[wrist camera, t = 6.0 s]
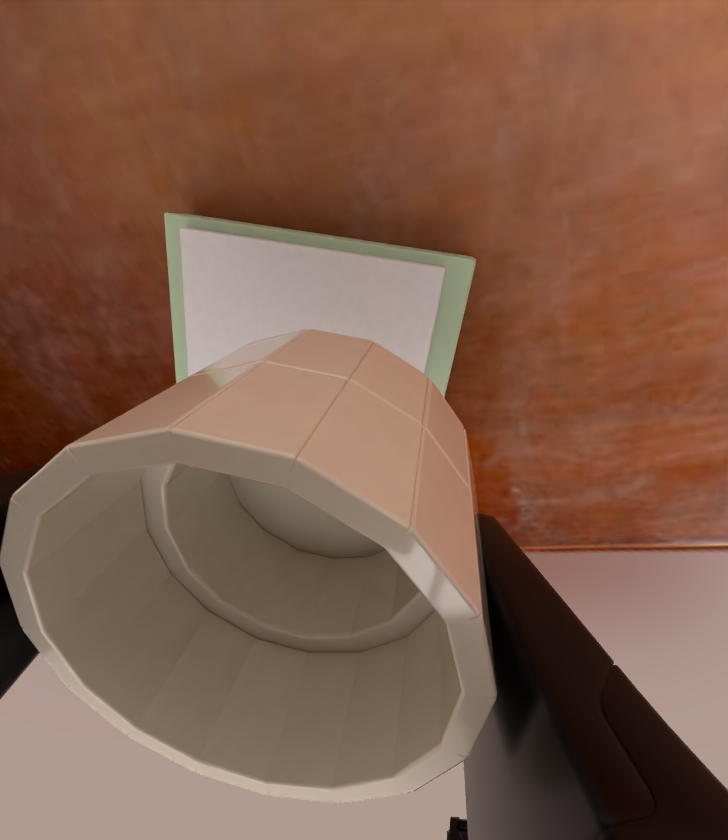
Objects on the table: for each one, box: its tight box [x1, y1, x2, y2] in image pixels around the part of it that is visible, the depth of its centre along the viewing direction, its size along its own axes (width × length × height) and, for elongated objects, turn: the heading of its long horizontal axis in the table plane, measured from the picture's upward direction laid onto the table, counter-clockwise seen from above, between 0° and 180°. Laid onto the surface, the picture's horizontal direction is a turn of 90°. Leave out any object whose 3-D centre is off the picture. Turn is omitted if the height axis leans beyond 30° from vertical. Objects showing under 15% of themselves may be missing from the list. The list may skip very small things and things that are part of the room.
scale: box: [164, 213, 476, 398], centre depth 18 cm, size 12×12×3 cm
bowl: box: [0, 329, 497, 803], centre depth 7 cm, size 6×6×5 cm
